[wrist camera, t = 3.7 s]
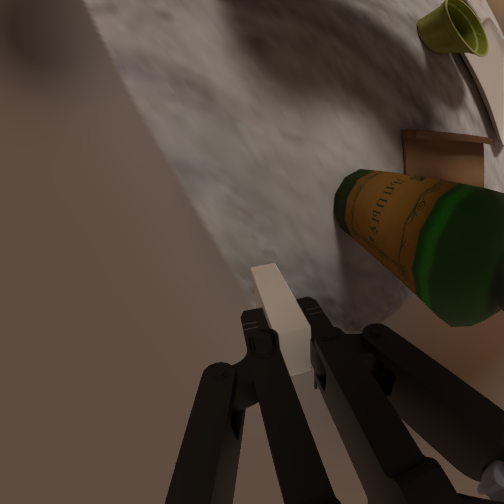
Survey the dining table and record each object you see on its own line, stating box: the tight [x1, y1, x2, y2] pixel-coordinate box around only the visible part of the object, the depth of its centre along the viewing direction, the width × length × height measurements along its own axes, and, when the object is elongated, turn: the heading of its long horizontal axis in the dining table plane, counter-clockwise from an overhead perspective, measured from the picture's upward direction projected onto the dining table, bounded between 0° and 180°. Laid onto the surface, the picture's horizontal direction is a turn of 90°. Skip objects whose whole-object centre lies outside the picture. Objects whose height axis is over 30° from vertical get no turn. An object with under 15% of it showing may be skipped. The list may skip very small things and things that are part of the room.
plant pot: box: [417, 0, 489, 57], centre depth 20 cm, size 9×9×9 cm
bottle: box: [334, 169, 504, 327], centre depth 19 cm, size 11×11×28 cm
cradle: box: [401, 130, 494, 188], centre depth 32 cm, size 18×20×3 cm
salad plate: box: [460, 17, 504, 146], centre depth 25 cm, size 21×21×3 cm
